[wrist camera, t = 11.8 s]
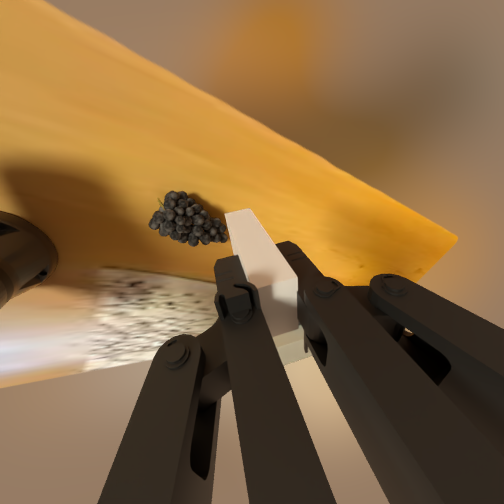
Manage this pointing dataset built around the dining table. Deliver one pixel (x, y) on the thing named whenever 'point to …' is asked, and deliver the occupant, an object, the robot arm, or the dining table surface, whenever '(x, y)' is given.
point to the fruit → (186, 221)
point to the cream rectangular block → (291, 346)
